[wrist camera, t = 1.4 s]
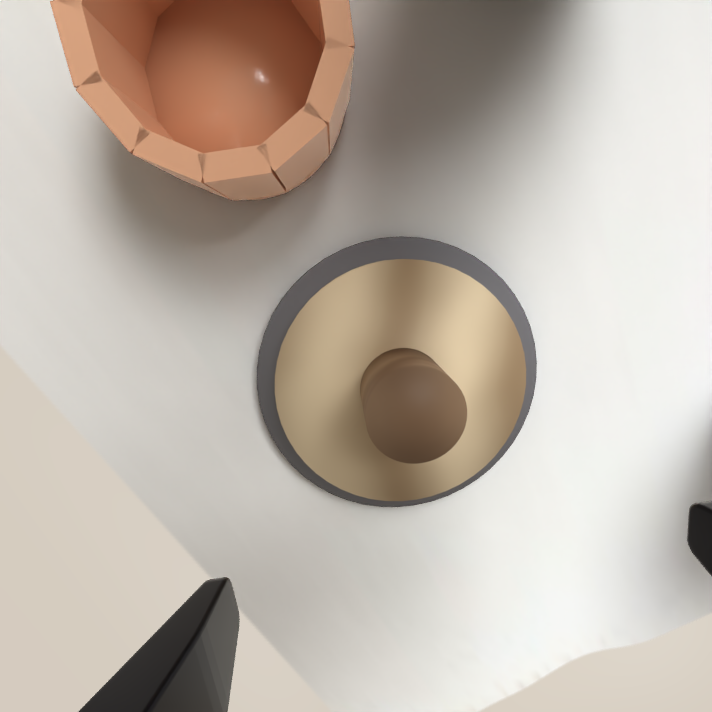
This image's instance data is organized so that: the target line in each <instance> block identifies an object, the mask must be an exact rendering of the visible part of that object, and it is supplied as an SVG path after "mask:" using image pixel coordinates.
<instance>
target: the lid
mask: <svg viewBox="0 0 712 712" xmlns="http://www.w3.org/2000/svg"><path fill="white" fill-rule="evenodd" d="M525 388H526V363H525V355H524V350H523V346H522V343H521V339H520V336H519V334H518V331H517V329H516V327H515V324H514V322H513V321H512V319H511V317H510V316H509V314H508V312H507V311H506V309H505V308H504V307H503V305H502V304H501V303H500V302H499V301H498V299H497V298H496V297H495V296H494V295H493V294H492V293H491V292H490V291H489V290H488V289H486V288H485V287H484V286H483V285H482V284H480V283H479V282H477V281H476V280H474V279H473V278H472V277H470V276H468V275H466V274H464V273H462V272H460V271H458V270H456V269H454V268H451V267H448V266H445V265H442V264H439V263H435V262H430V261H424V260H414V259H395V260H383V261H379V262H374V263H370V264H366V265H363V266H360V267H358V268H355V269H352V270H350V271H348V272H346V273H344V274H342V275H340V276H338V277H337V278H335V279H334V280H332V281H331V282H329V283H328V284H327V285H325V286H324V287H322V288H321V289H320V290H319V291H318V292H317V293H316V294H315V295H314V296H313V297H312V298H311V299H310V300H309V301H308V302H307V303H306V304H305V306H304V307H303V308H302V309H301V311H300V312H299V313H298V315H297V316H296V318H295V319H294V321H293V323H292V324H291V326H290V328H289V329H288V332H287V334H286V336H285V338H284V341H283V343H282V345H281V349H280V352H279V356H278V359H277V365H276V372H275V398H276V405H277V411H278V414H279V418H280V421H281V425H282V427H283V429H284V431H285V434H286V436H287V438H288V440H289V442H290V443H291V445H292V446H293V448H294V450H295V451H296V453H297V454H298V455H299V456H300V457H301V459H302V460H303V461H304V462H305V463H306V464H307V465H308V466H309V467H310V468H311V469H312V470H313V471H314V472H315V473H316V474H318V475H319V476H320V477H322V478H323V479H324V480H326V481H327V482H329V483H330V484H332V485H334V486H336V487H338V488H340V489H341V490H344V491H346V492H349V493H352V494H354V495H357V496H361V497H365V498H369V499H375V500H382V501H408V500H417V499H421V498H426V497H430V496H434V495H436V494H439V493H442V492H445V491H447V490H449V489H452V488H454V487H456V486H458V485H460V484H461V483H463V482H465V481H466V480H468V479H469V478H471V477H472V476H474V475H475V474H476V473H477V472H479V471H480V470H481V469H482V468H484V467H485V466H486V465H487V464H488V463H489V462H490V461H491V460H492V459H493V458H494V457H495V456H496V454H497V453H498V452H499V451H500V449H501V448H502V447H503V445H504V444H505V443H506V441H507V439H508V437H509V436H510V434H511V432H512V431H513V429H514V426H515V424H516V422H517V419H518V417H519V415H520V411H521V408H522V404H523V401H524V394H525Z"/></svg>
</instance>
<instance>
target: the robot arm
mask: <svg viewBox="0 0 712 712" xmlns="http://www.w3.org/2000/svg"><path fill="white" fill-rule="evenodd" d="M687 541H688V545H689V547H690V549H691V551H692V553H693V554H694V555H695V557H696V558H697V559H698V560H699V561H700V563H701V564H702V565H703V566H704V567H705V569H706V570H707V571H708V572H709V573H710V575H711V576H712V501H706V502H700V503H695V504H693V505H692V506H691V507H690V509H689V519H688V534H687ZM238 631H239V611H238V607H237V603H236V599H235V595H234V591H233V587H232V583H231V581H230V579H229V578H227V577H223V578H217V579H210V580H207V581H206V582H205V583H203V585H201V587H200V588H199V589H198V590H197V591H196V592H195V593H194V594H193V595H192V596H191V597H190V598H189V599H188V600H187V601H186V602H185V603H184V604H183V605H182V606H181V607H180V608H179V609H178V610H177V611H176V612H175V613H174V614H173V615H172V616H171V617H170V618H169V619H168V620H167V621H166V622H165V624H164V625H162V627H161V628H160V629H159V630H158V631H157V632H156V633H155V634H154V635H153V636H152V637H151V638H150V639H149V640H148V641H147V642H146V643H145V644H144V645H143V646H142V647H141V648H140V649H139V650H138V651H137V652H136V653H135V654H134V655H133V656H132V657H131V658H130V659H129V660H128V662H126V663H125V664H124V666H123V667H122V668H121V669H120V670H119V671H118V672H117V673H116V674H115V675H114V676H113V677H112V678H111V679H110V680H109V681H108V682H107V683H106V684H105V685H104V686H103V687H102V688H101V689H100V690H99V691H98V692H97V693H96V694H95V695H94V696H93V697H92V698H91V699H90V701H88V702H87V703H86V704H85V706H84V707H83V708H82V709H81V710H80V711H79V712H227V711H228V704H229V696H230V689H231V682H232V675H233V667H234V660H235V652H236V645H237V638H238Z"/></svg>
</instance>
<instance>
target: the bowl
mask: <svg viewBox="0 0 712 712" xmlns="http://www.w3.org/2000/svg"><path fill="white" fill-rule="evenodd" d="M50 3H51V7H52V11H53V14H54V18H55V21H56V25H57V28H58V32H59V35H60V39H61V43H62V46H63V50H64V53H65V57H66V60H67V64H68V67H69V71H70V74H71V78H72V82H73V85H74V87H76V88H77V89H76V91H77V92H78V93H79V94H80V95H81V96H82V98H83V99H84V100H85V101H86V102H87V103H88V105H89V106H90V107H91V108H92V109H93V110H94V112H95V113H96V114H97V115H98V116H99V117H100V119H101V120H102V121H103V122H104V123H105V124H106V126H107V127H108V128H109V129H110V130H111V131H112V132H113V134H114V135H115V136H116V137H117V138H118V139H119V141H120V142H121V143H122V144H123V145H124V146H125V148H126V149H127V150H128V151H129V152H130V153H132V154H133V155H135V156H136V157H138V158H140V159H142V160H144V161H146V162H148V163H150V164H152V165H154V166H156V167H157V168H159V169H161V170H163V171H165V172H167V173H169V174H171V175H173V176H175V177H177V178H179V179H180V180H183V181H185V182H188V183H190V184H193V185H195V186H198V187H200V188H202V189H205V190H207V191H209V192H211V193H213V194H216V195H219V196H222V197H225V198H227V199H229V200H234V201H237V200H261V199H267V198H271V197H276V196H278V195H281V194H284V193H286V192H289V191H290V190H292V189H294V188H296V187H298V186H299V185H301V184H302V183H303V182H305V181H306V180H307V179H309V178H310V177H311V176H312V175H313V174H314V173H315V172H316V171H317V170H318V169H319V168H320V167H321V165H322V164H323V163H324V162H325V160H326V159H327V158H329V155H331V152H332V149H333V147H334V145H335V143H336V141H337V138H338V136H339V134H340V130H341V127H342V123H343V120H344V115H345V112H346V109H347V106H348V103H349V101H350V91H351V80H352V69H353V58H354V47H355V43H354V36H353V28H352V20H351V13H350V5H349V0H53V1H50Z"/></svg>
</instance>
